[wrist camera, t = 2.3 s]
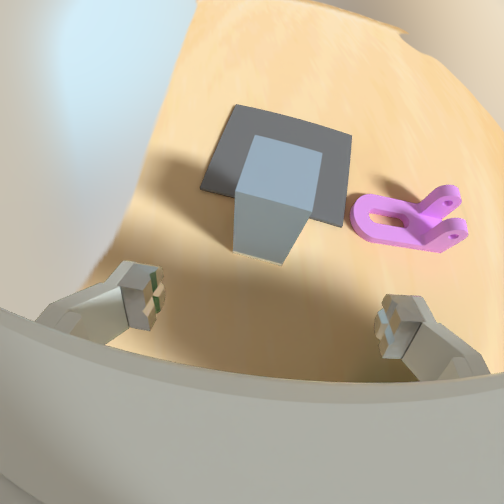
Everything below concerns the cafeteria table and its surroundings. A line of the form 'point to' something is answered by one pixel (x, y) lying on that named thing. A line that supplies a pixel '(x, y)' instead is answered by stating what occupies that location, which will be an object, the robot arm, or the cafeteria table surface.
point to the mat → (293, 132)
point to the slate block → (274, 198)
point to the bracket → (412, 220)
